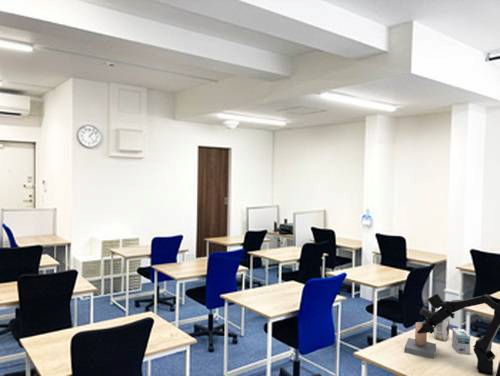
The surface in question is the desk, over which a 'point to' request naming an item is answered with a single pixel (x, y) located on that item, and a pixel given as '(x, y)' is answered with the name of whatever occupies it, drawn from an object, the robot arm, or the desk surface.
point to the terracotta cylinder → (421, 337)
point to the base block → (420, 348)
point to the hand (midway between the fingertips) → (418, 331)
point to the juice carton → (442, 329)
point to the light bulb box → (461, 341)
